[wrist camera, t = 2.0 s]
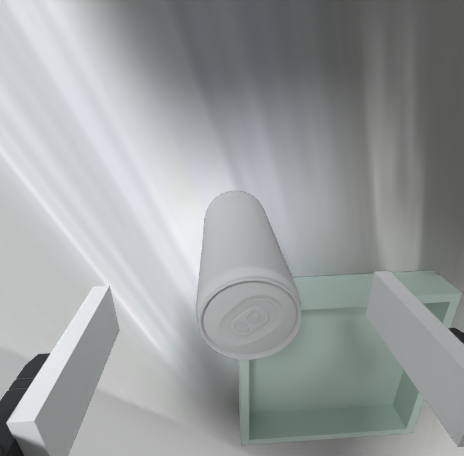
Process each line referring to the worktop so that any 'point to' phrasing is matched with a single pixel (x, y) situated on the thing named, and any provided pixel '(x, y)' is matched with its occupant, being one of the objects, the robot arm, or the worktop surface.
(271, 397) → the tray
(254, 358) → the beverage can
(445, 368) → the robot arm
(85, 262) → the worktop surface
